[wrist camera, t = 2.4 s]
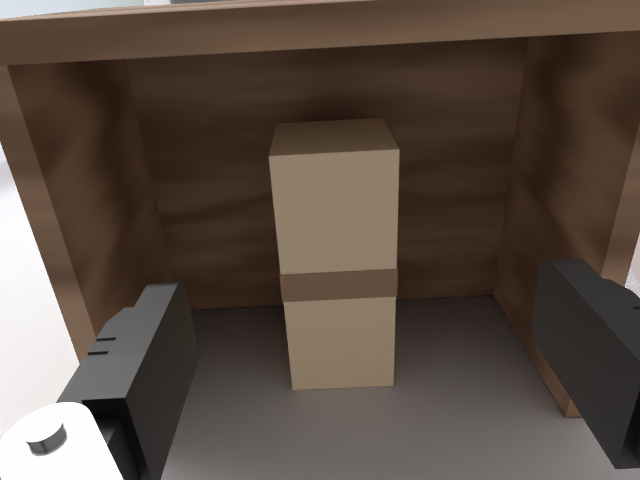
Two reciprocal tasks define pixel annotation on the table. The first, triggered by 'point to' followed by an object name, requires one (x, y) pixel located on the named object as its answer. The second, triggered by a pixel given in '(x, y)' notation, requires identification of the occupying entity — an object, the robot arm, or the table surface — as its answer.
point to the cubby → (323, 105)
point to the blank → (337, 249)
